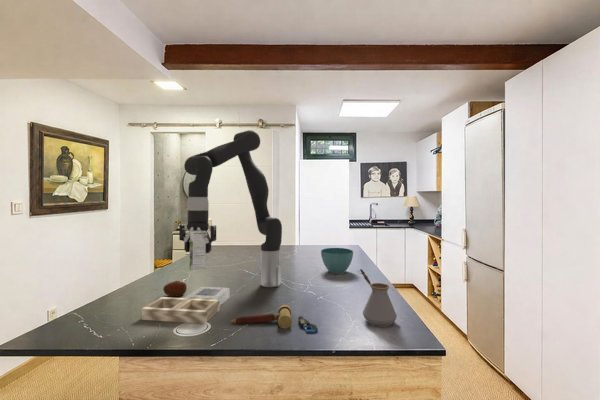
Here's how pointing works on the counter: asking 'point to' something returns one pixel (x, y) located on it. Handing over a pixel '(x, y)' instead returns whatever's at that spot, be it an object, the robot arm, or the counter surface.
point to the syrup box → (197, 250)
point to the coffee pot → (378, 305)
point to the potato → (175, 288)
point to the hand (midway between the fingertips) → (197, 252)
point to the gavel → (269, 318)
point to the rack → (181, 310)
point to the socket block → (211, 294)
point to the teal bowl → (337, 259)
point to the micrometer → (307, 325)
